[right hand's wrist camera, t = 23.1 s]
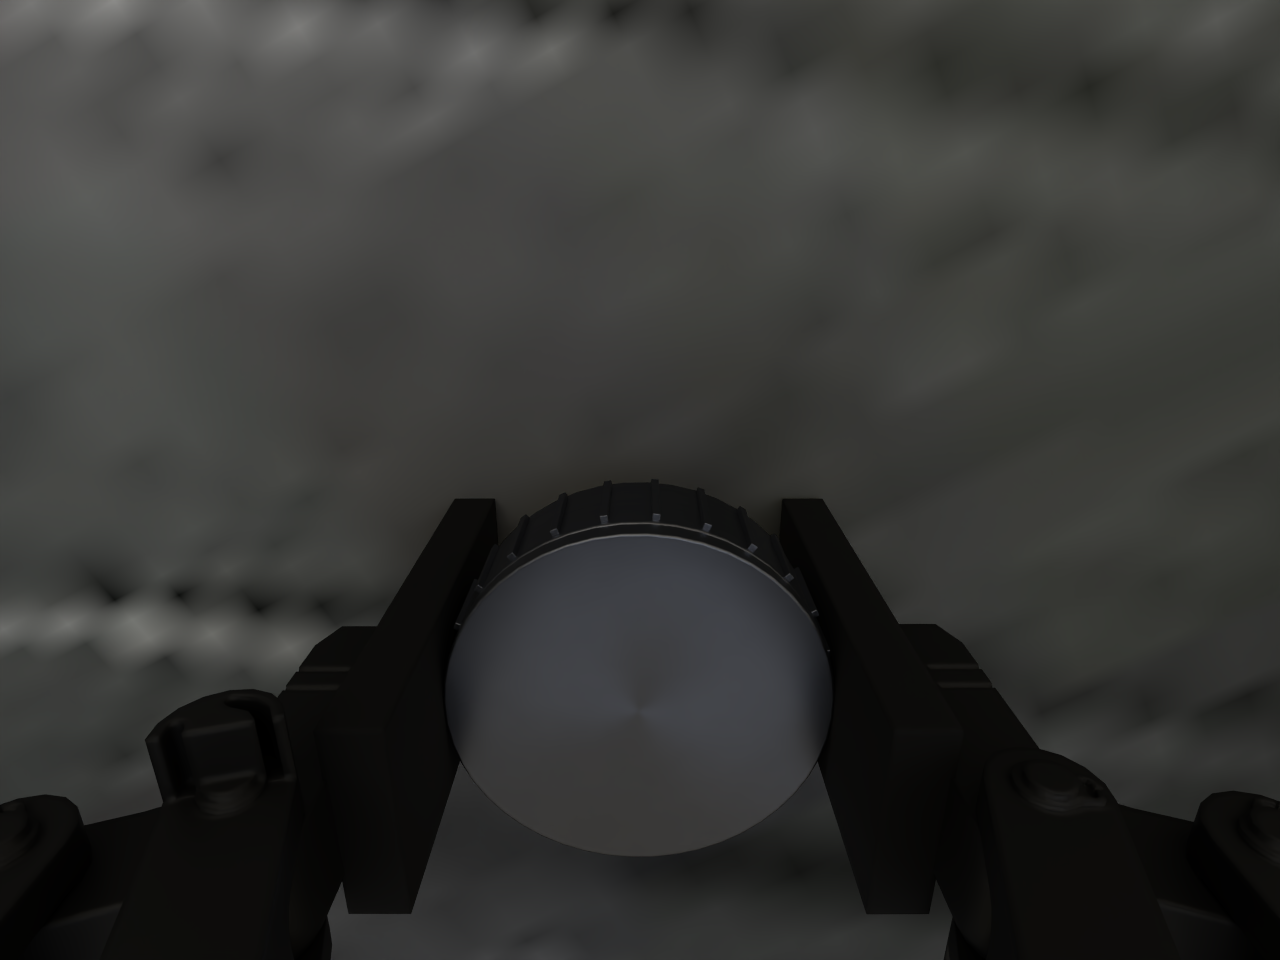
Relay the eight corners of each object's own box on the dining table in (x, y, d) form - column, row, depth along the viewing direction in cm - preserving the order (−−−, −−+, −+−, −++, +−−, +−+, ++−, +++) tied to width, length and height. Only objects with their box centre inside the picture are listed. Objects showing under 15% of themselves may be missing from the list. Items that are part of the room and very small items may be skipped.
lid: (600, 821, 14) (594, 913, 12) (394, 599, 12) (351, 669, 10) (873, 673, 12) (911, 752, 11) (687, 405, 11) (695, 446, 9)
